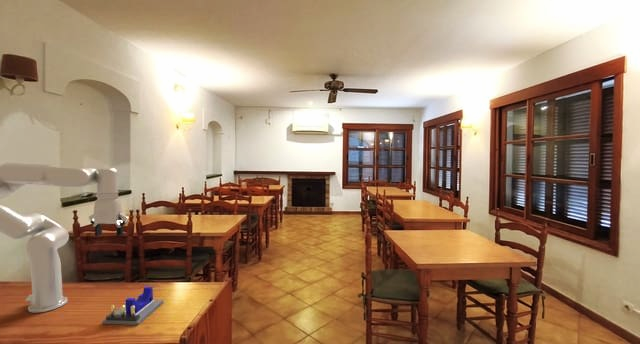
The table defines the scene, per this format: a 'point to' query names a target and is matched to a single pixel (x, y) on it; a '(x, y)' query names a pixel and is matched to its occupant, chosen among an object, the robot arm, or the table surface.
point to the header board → (143, 313)
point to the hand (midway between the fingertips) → (109, 235)
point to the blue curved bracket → (140, 300)
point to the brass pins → (123, 314)
